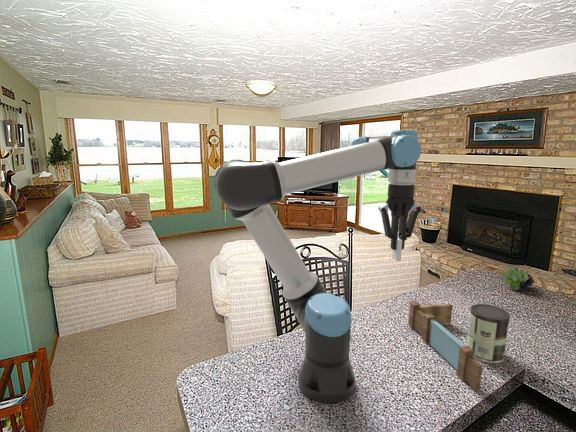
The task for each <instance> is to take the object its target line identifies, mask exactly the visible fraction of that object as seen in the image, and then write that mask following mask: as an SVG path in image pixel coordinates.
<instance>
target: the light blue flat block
mask: <svg viewBox="0 0 576 432" xmlns="http://www.w3.org/2000/svg"><path fill="white" fill-rule="evenodd" d="M428 344H429V345H430V346H431V347H432V348H433V349H434V350H435V351H436V352H437V353H438V354H439V355H441V356H442V358H443V359H445V361H447V362H448V363H449V364H450V365H451V366H452V367H453V368H454V369H455V370H456V371H457V369H458V360H459V351H460V346H467V344H465V343H463V342H462V341H461V340H460V339H459V338H457V337H456V336H455V335H454V334H453V333H451V332H450V331H449V330H447V329H446V328H445V327H444V326H443V324H439V323H438V322H437V321H435V320H433V319H431V321H430V332H429V343H428Z"/></svg>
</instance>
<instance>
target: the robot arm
mask: <svg viewBox="0 0 576 432" xmlns="http://www.w3.org/2000/svg"><path fill="white" fill-rule="evenodd" d="M421 153H422V147H421V143H420V141H419V134H418V131H417V130H414V129H396V130H395V129H394V130H392V131H391V133H390V136H389V135H383V136H357V137H355V138H354V139H353V140H352V142H351V145H349V146H346V147H341V148H337V149H332V150H328V151H324V152H319V153H316V154H311V155H306V156H301V157H297V158H294V159H289V160H285V161H281V162H277V161H276V160H274V159H270V160H269V159H268V160H265V161H264V160H263V161H257V162H256V161H255V162H249V161H246V160H242V159H231V160H229V161H227V162H224V163H223V164H222V165H220V166H219V168H217V170H216V172H215V175H214V180H213V184H214V185H213V186H214V189H215V191H216V193H217V196H218V198H219V199H220V201H221V202H222V203H223V204H224V205H225V207H226V208H227V210H228V211H229V213H230V214H231V215H232V217H233V219H235V220H238V221H241V222H242V223H243V224H244V226H245V228H246V229H247V231H248V233H249V234H250V237H251V238H252V239H253V240H254V242H255V243H256V246H257V247H258V248H259V250H260V252H261V253H262V255H263V256H264V258H265V260H266V262H267V263H268V264H269V266H270V268H271V269H272V270H273V273H274V274H275V276H276V277H277V278H278V280H279V282H280V283H281V285H282V287H283V289H282V293H281V294H282V296H283V299H284V300H285V301H286V302H287V305H288V306H289V308H290V309H291V311H292V313H293V315H294V316H295V318H296V319H297V321H298V323H299V324H300V326H301V328H302V330H303V332H304V338H305V340H304V341H305V346H304V348H305V352H304V353H305V354H304V357H303V361H302V363H301V365H300V369H299V372H298V387H299V389H300V390H301V392H302V393H303V394H304V395H305V396H306V397H308V398H309V399H311V400H313V401H316V402H319V403H322V404H323V403H324V404H336V403H341V402H343V401H346V400H347V399H349V398H350V397H351V396H352V395H353V393H354V392H355V388H356V377H355V372H354V369H353V366H352V363H351V359H350V350H351V327H352V312H351V307H350V304H349V303H348V302H347V301H346V300H345V299H344V298H342V297H341V296H338V295H337V296H336V295H335V294H333V293H328V291H327V290H326V288H325V287H324V285H323V283H322V281H321V280H320V278H319V276H318V275H317V273H315V272H314V271H309V270H308V268H307V266H306V265H305V263H304V261H303V259H302V258H301V256H300V255H299V253H298V251H297V249H296V247H295V246H294V244H293V242H292V241H291V238H290V237H289V236H288V234H287V232H286V230H285V229H284V227H283V226H282V224H281V222H280V220H279V218H277V217H278V216H277V215H276V214H275V212H274V210H273V209H272V206H271V205H270V204H272V203H276V202H280V201H283V200H284V199H285V196H287V195H290V194H293V193H298V192H301V191H306V190H310V189H313V188H317V187H321V186H324V185H329V184H332V183H337V182H340V181H344V180H348V179H352V178H355V177H359V176H363V175H368V174H371V173H376V172H379V171H383V170H388V183H389V184H388V185H387V199H386V201H385V204H383V205H382V206H378V211H379V213H380V214H381V220H382V225H383V231H384V236H385V237H387V238H388V239H390V249H391V250H392V259H393V260H394V261H396V262H401V261H402V251H403V250H404V249H405V242H406V241H407V240H408V238H412V235H413V231H414V229H415V225H416V221H417V219H418V215H419V213H420V212H421V211H422V207H421V206H419V205H417V204H416V203H415V200H414V197H415V189H416V186H415V184H414V183H416V171H417V162H418V160H419V159H420V157H421V155H422V154H421ZM389 211H390V214H389V213H388V212H389ZM389 215H390V216H391V220H390V217H389ZM390 221H391V222H390Z"/></svg>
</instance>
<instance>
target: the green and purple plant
mask: <svg viewBox="0 0 576 432" xmlns="http://www.w3.org/2000/svg"><path fill="white" fill-rule="evenodd" d="M500 274H501V275H500V276H501V281H502V282H504V283H506V284H507V285H509V286H510V287H511V289H512V290H513V291H523V289H524V290H527V289H529V287H532V284H534V283H535V280H534V278H533V277H532V276H531V274H530V273H529V271H525V270H523V269H522V270H519V269H518V268H517V267H513V266H509V267H508V268H507V269H506V270H505V271H504V272H503V271H502V272H501V273H500Z"/></svg>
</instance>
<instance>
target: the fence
mask: <svg viewBox="0 0 576 432" xmlns="http://www.w3.org/2000/svg"><path fill="white" fill-rule="evenodd" d="M452 312H453V304H451V303H444V304H431V305H421V304H420V303H419V302H418V301H410V302H409V313H408V327H409V328H410V329H411V330H412V329H413V330H415V331H417V333H418V334H419V335H420V336H421V340H422V341H423V342H424V343H425V344H429V332H430V321H431V319H433V320H435V321H437V322H438V323H439V324H440V325H445V324H446V325H447V324H448V325H449V324H451V323H452V316H453V315H452ZM473 354H474V350H472V349H471V348H470V347H469V346H467V345H466V346H460V351H459V360H458V369H457V370H456V376H457V378H458V379H460V380H461V381H462V382H467V383H468V385H469V386H470V387H472V389H474V391H480V390H481V388H480V387H481V380H482V375H483V374H482V373H483V365H482V364H481V363H480V362H479V361H478V360H477V359H476V358H474V357H473Z"/></svg>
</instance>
